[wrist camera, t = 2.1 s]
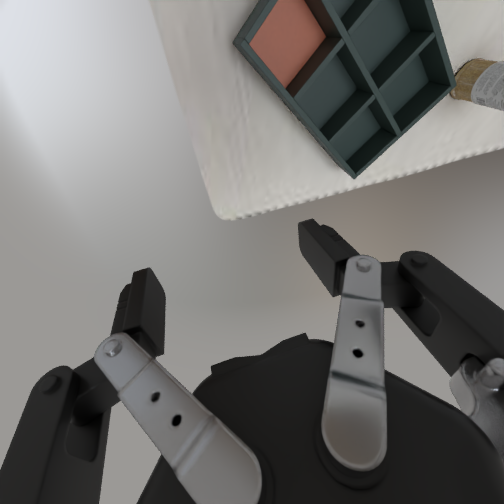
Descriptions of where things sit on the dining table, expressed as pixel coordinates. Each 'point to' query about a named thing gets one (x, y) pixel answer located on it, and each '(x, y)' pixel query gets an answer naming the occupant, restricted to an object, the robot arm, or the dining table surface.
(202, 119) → the dining table surface
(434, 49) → the rack
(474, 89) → the sprinkles bottle
